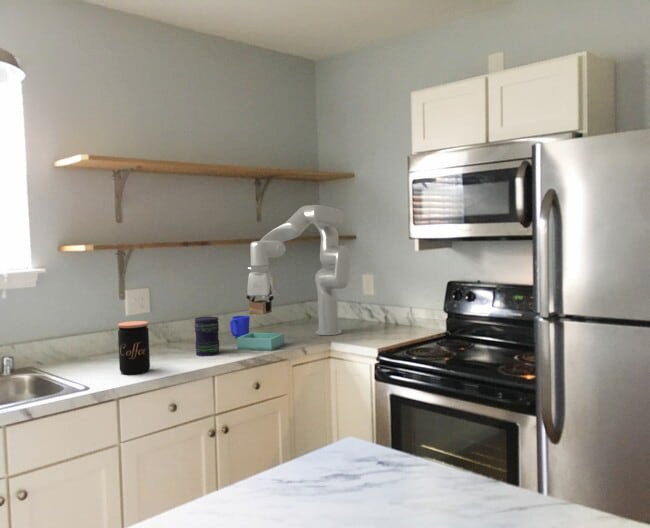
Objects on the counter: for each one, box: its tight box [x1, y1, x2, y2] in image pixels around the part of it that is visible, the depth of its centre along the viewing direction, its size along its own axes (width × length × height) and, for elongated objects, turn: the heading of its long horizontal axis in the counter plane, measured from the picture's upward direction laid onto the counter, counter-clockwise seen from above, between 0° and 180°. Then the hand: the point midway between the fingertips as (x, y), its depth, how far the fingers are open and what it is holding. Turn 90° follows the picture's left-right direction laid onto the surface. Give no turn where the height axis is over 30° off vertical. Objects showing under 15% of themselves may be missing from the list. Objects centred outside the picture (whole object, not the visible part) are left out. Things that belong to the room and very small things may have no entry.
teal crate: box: [236, 332, 286, 352], centre depth 264 cm, size 14×16×5 cm
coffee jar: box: [117, 320, 151, 376], centre depth 223 cm, size 11×11×18 cm
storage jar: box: [194, 316, 221, 357], centre depth 252 cm, size 10×10×15 cm
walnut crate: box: [248, 299, 273, 316], centre depth 264 cm, size 9×6×5 cm
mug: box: [229, 315, 251, 339], centre depth 288 cm, size 8×12×10 cm
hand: (260, 310), depth 264 cm, fingers closed on walnut crate, 6 cm apart
